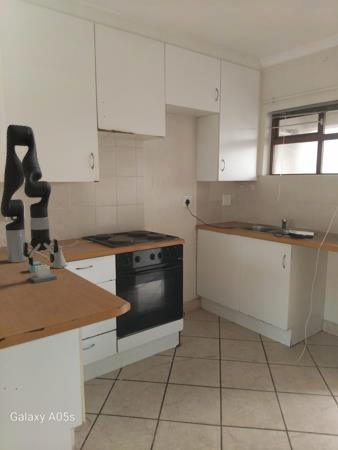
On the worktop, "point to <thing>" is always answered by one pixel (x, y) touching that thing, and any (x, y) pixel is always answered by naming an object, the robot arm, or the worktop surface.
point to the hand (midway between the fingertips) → (41, 263)
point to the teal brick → (32, 268)
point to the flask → (59, 259)
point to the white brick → (42, 271)
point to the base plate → (42, 278)
